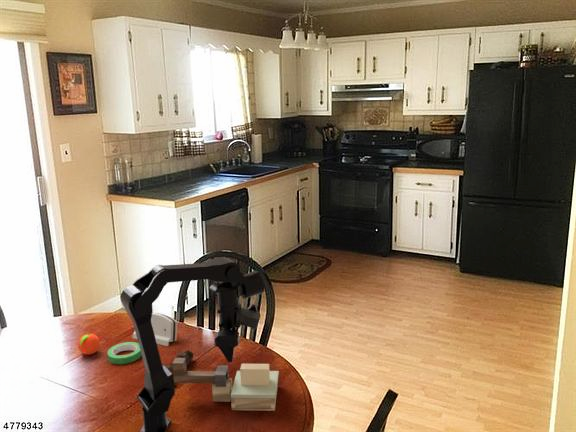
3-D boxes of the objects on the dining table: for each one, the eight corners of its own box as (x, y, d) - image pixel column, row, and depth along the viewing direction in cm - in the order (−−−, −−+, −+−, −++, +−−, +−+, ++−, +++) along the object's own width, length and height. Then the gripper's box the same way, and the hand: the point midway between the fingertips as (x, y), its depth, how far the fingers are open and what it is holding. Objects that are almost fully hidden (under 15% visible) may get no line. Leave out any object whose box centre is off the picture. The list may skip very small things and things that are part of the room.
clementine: (90, 361, 168) (88, 341, 166) (72, 358, 170) (70, 339, 168) (104, 349, 175) (102, 330, 174) (87, 347, 177) (85, 328, 176)
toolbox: (274, 410, 139) (273, 381, 137) (210, 409, 140) (208, 381, 138) (277, 386, 151) (276, 359, 149) (218, 385, 152) (216, 359, 150)
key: (215, 383, 143) (214, 363, 142) (174, 383, 144) (172, 363, 142) (217, 378, 146) (216, 358, 145) (176, 377, 147) (175, 357, 145)
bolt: (192, 364, 168) (166, 387, 154) (181, 355, 169) (154, 377, 155) (199, 352, 166) (173, 373, 152) (187, 343, 167) (161, 363, 153)
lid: (275, 398, 138) (275, 378, 137) (230, 397, 139) (229, 378, 137) (278, 374, 150) (278, 355, 149) (237, 373, 151) (236, 355, 150)
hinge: (131, 337, 184) (135, 310, 185) (140, 336, 188) (144, 309, 189) (168, 346, 177) (172, 317, 178) (176, 345, 181) (180, 317, 182)
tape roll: (122, 368, 164) (121, 361, 163) (101, 359, 170) (100, 351, 169) (149, 354, 172) (148, 347, 172) (128, 345, 179) (127, 339, 178)
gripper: (255, 316, 130) (258, 370, 134) (260, 288, 148) (262, 337, 152) (212, 317, 130) (216, 371, 134) (222, 290, 149) (226, 338, 152)
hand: (232, 353), depth 143 cm, fingers open, 9 cm apart
